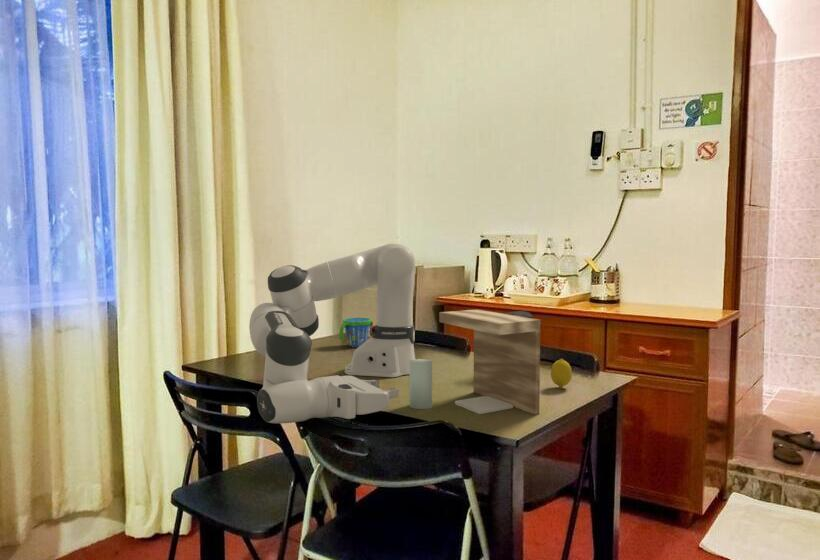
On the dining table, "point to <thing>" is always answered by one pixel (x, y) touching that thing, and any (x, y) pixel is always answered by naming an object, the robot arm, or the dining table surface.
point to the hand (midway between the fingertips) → (387, 388)
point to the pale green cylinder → (420, 383)
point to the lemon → (561, 373)
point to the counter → (501, 360)
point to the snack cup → (355, 330)
